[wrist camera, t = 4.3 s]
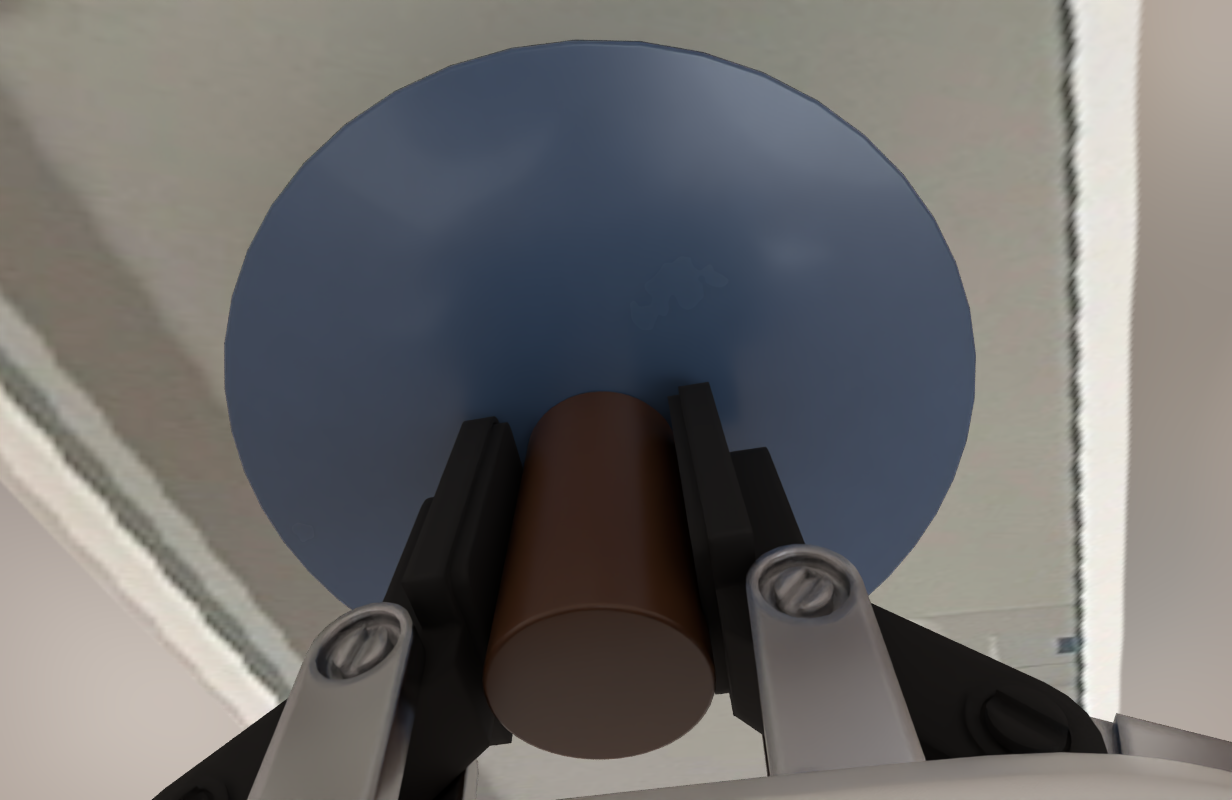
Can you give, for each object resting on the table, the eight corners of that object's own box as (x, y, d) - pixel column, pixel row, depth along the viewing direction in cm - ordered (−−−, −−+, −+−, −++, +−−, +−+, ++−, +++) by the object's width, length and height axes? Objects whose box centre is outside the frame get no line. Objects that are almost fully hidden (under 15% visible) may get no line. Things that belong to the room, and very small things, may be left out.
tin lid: (109, 132, 10) (-438, 229, 5) (978, -47, 9) (1488, -170, 4) (395, 682, 17) (295, 985, 11) (926, 613, 16) (1092, 910, 10)
